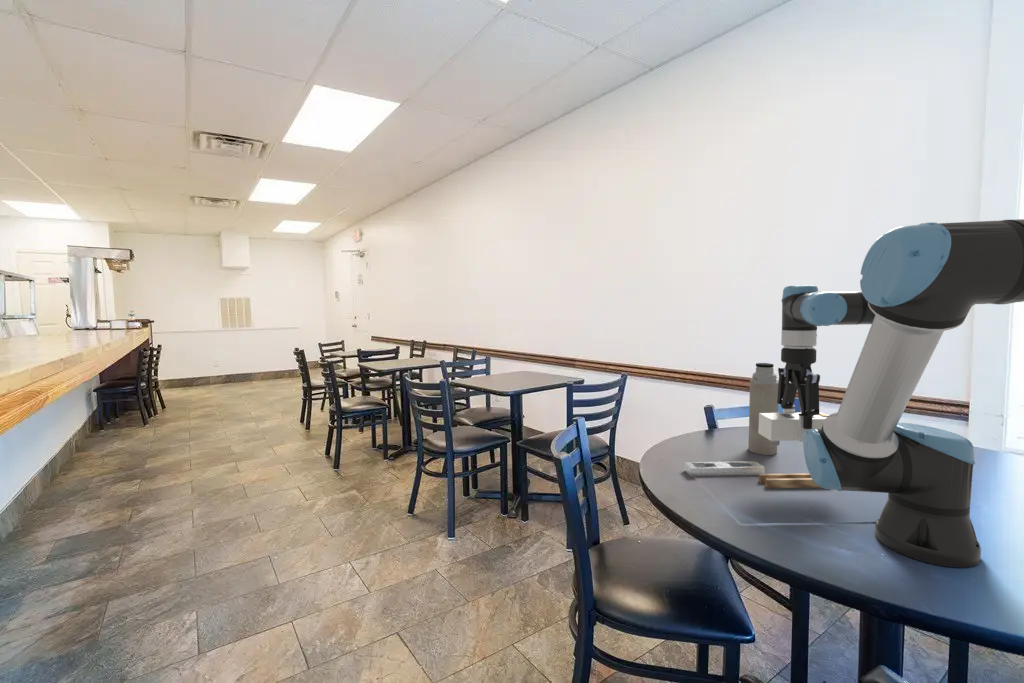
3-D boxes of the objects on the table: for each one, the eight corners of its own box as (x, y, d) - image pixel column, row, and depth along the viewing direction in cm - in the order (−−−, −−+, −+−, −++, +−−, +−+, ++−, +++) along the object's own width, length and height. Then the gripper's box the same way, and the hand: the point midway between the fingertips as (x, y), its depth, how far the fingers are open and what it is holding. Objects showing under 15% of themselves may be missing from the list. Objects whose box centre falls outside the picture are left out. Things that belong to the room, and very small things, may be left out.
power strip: (819, 439, 119) (821, 411, 118) (835, 447, 113) (837, 417, 112) (757, 440, 119) (759, 412, 118) (770, 448, 113) (771, 418, 112)
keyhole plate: (764, 475, 124) (765, 467, 124) (691, 476, 124) (691, 468, 124) (755, 469, 129) (756, 461, 129) (684, 470, 129) (684, 462, 129)
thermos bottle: (768, 446, 148) (770, 361, 145) (782, 454, 140) (785, 365, 137) (743, 446, 148) (745, 362, 146) (756, 455, 140) (758, 365, 138)
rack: (820, 481, 119) (820, 473, 119) (830, 488, 115) (831, 479, 115) (758, 482, 120) (758, 473, 119) (767, 489, 115) (767, 480, 115)
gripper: (840, 350, 104) (837, 448, 106) (791, 343, 124) (789, 427, 125) (807, 350, 105) (804, 448, 106) (763, 344, 124) (761, 427, 125)
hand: (796, 436), depth 116 cm, fingers closed on power strip, 6 cm apart
